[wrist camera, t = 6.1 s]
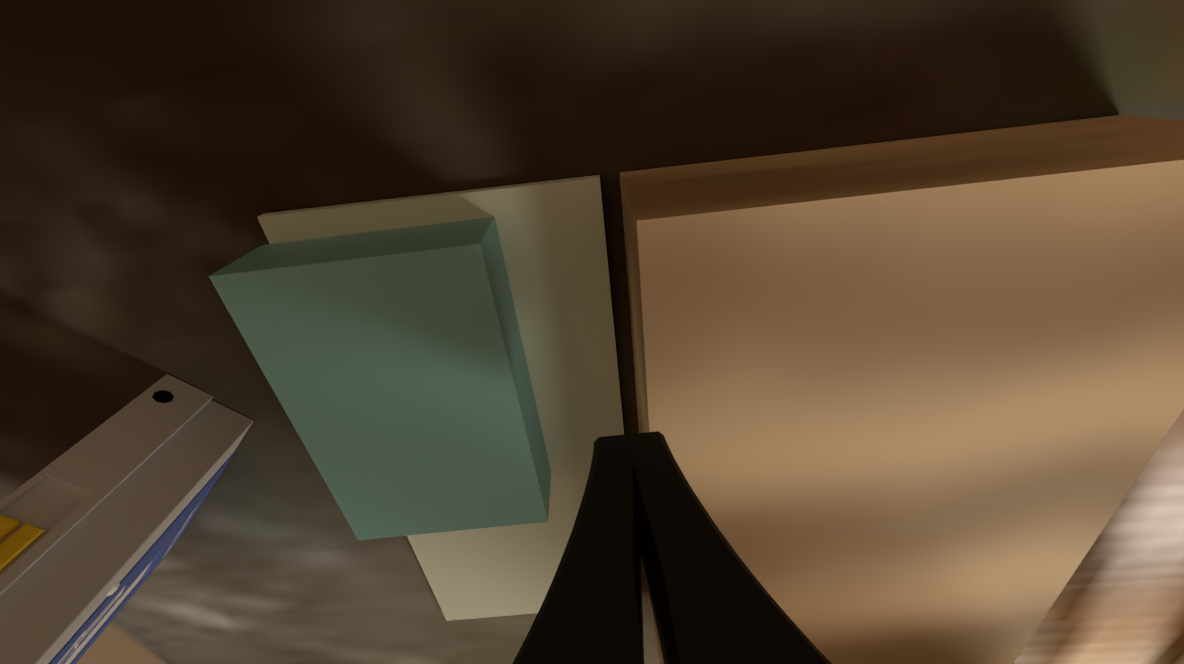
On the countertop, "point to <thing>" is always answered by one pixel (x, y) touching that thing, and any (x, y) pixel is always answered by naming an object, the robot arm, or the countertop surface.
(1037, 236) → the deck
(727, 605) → the robot arm
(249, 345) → the sage green box
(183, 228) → the countertop surface
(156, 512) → the walkman
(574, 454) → the mat
